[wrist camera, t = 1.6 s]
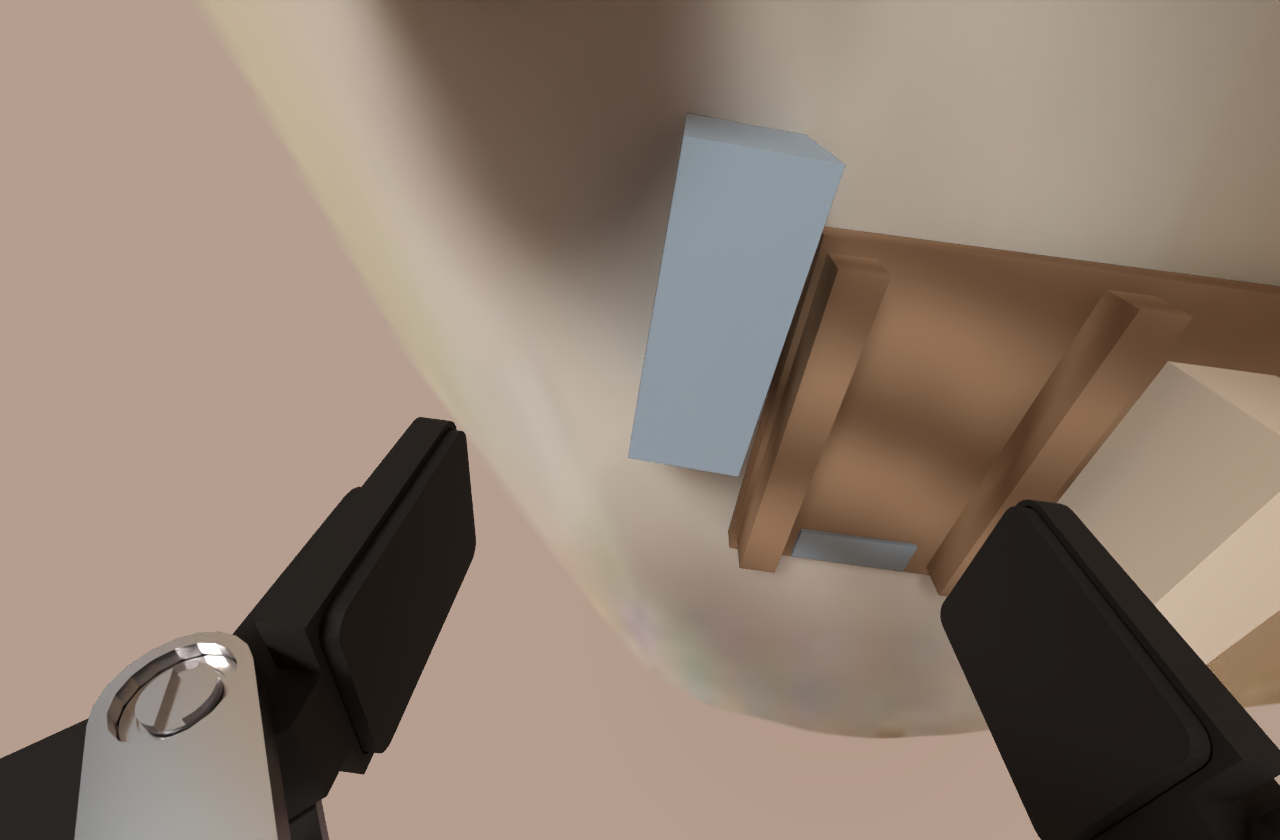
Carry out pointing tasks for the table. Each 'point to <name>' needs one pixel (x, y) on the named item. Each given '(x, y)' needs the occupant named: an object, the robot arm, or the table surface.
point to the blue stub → (728, 287)
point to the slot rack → (962, 392)
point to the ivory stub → (1194, 500)
